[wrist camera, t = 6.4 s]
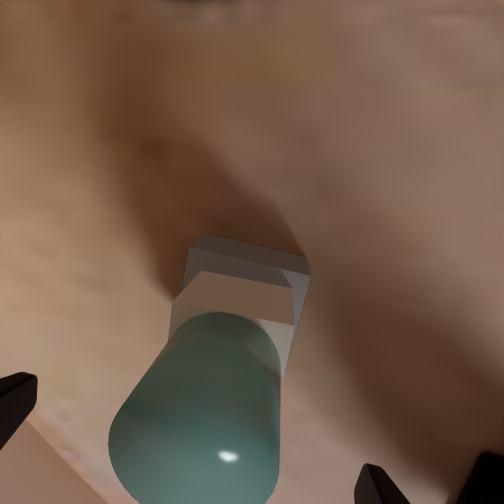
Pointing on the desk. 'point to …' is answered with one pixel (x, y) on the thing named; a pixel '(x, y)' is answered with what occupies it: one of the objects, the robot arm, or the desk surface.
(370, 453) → the desk surface
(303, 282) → the base block
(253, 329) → the teal cylinder
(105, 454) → the desk surface
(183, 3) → the desk surface
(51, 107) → the desk surface
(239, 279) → the top block
